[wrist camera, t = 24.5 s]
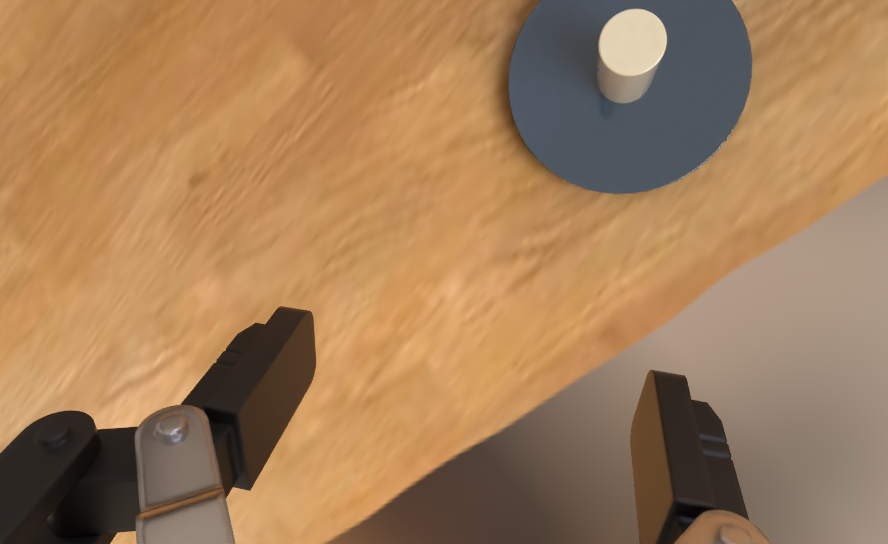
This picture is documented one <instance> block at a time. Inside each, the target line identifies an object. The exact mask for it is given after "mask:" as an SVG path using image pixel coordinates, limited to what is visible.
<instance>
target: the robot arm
mask: <svg viewBox="0 0 888 544" xmlns="http://www.w3.org/2000/svg"><path fill="white" fill-rule="evenodd" d="M315 368H316V351H315V335H314V320H313V314H312V312H311V311H307V310H301V309H295V308H289V307H283V306H281V307H279V308H278V309H277V310H276V311H275V312H274V314H273V315H272V316H271V318H270V319H269V320H268V322H267V323H266V324H260V323H255V324H253V325H252V326H250V327H248V328H247V329H245V330H244V331H242V332H240V333H239V334H237V336H236V337H235V338H234V339H233V341H232V342H231V343H230V344H229V345H228V347H227V348H226V351H224V352H223V353H222V354H221V355H220V357H219V358H218V359H217V362H216V363H214V364H213V365H212V366H211V368H210V369H209V370H208V371H207V373H206V374H205V375H204V376H203V378H202V379H201V380H200V381H199V382H198V384H197V385H196V386H195V387H194V389H193V390H192V391H191V392H190V394H189V395H188V396H187V397H186V398H185V400H184V401H183V402H182V403H181V405H175V406H170V407H166V408H163V409H161V410H158V411H156V412H155V413H153V414H151V415H150V416H148V417H147V418H146V419H145V420H144V421H143V422H142V423H141V424H140V425H139V426H138V427H128V428H114V429H99V430H97V429H96V426H95V423H94V420H93V419H92V417H91V416H89V415H88V414H86V413H84V412H80V411H62V412H57V413H53V414H50V415H47V416H45V417H43V418H40V419H38V420H37V421H35V422H33V423H32V424H30V425H29V426H28V427H26V428H25V429H24V430H23V431H22V432H21V433H20V434H19V435H18V436H17V437H16V438H15V439H14V440H13V441H12V442H11V443H10V444H9V445H8V446H7V447H6V448H5V449H4V450H3V451H2V452H1V453H0V544H110V543H111V541H112V540H113V538H114V537H115V535H116V534H117V532H128V531H136V538H137V544H235V540H234V535H233V530H232V526H231V521H230V516H229V512H228V507H227V502H226V497H227V496H228V494H229V493H230V491H231V489H232V488H233V487H235V488H240V489H245V490H249V491H250V490H251V488H252V486H253V485H254V483H255V481H256V479H257V478H258V476H259V474H260V472H261V471H262V469H263V467H264V465H265V464H266V462H267V460H268V458H269V457H270V455H271V453H272V451H273V450H274V448H275V446H276V444H277V443H278V441H279V439H280V437H281V436H282V434H283V432H284V430H285V429H286V427H287V425H288V423H289V422H290V420H291V418H292V416H293V415H294V413H295V411H296V409H297V407H298V406H299V404H300V402H301V400H302V399H303V397H304V395H305V393H306V392H307V390H308V388H309V386H310V384H311V382H312V380H313V377H314V373H315ZM630 442H631V456H632V465H633V476H634V487H635V496H636V497H635V498H636V508H637V518H638V529H639V540H640V544H771V543H770V541H769V540H768V538H767V537H766V536H765V534H764V533H763V532H762V531H761V530H760V529H759V528H758V527H757V526H756V525H754V524H753V523H751V522H750V521H749V518H748V514H747V511H746V507H745V504H744V500H743V496H742V493H741V489H740V486H739V482H738V479H737V475H736V471H735V468H734V464H733V461H732V460H731V453H730V450H729V446H728V444H727V443H726V442H727V439H726V436H725V432H724V428H723V425H722V422H721V420H720V419H719V417H718V416H717V415H716V414H715V412H714V411H713V410H712V408H711V407H710V406H709V405H708V403H706V402H700V401H695V400H691V396H690V391H689V387H688V383H687V379H686V377H685V376H684V375H678V374H672V373H667V372H660V371H655V370H650V371H649V373H648V375H647V378H646V381H645V384H644V387H643V390H642V393H641V396H640V399H639V402H638V405H637V409H636V412H635V415H634V418H633V422H632V429H631V441H630Z"/></svg>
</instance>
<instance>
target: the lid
mask: <svg viewBox="0 0 888 544" xmlns="http://www.w3.org/2000/svg"><path fill="white" fill-rule="evenodd" d="M751 77H752V55H751V46H750V41H749V37H748V33H747V30H746V27H745V24H744V22H743V20H742V17H741V15H740V13H739V11H738V10H737V8H736V7H735V5H734V3H733V2H732V0H541V1H540V2H539V3H538V4H537V5H536V7H535V8H534V9H533V11H532V12H531V14H530V15H529V17H528V18H527V20H526V21H525V23H524V25H523V27H522V29H521V31H520V33H519V35H518V38H517V40H516V43H515V45H514V49H513V52H512V56H511V60H510V67H509V75H508V94H509V101H510V108H511V111H512V115H513V119H514V122H515V124H516V127H517V129H518V131H519V134H520V136H521V137H522V139H523V141H524V142H525V144H526V146H527V147H528V148H529V150H530V151H531V152H532V154H533V155H534V156H535V157H536V159H537V160H538V161H539V162H540V163H541V164H543V165H544V166H545V167H546V168H547V169H548V170H549V171H551V172H552V173H553V174H555V175H556V176H557V177H559V178H561V179H563V180H564V181H566V182H568V183H570V184H572V185H575V186H577V187H580V188H582V189H585V190H589V191H593V192H598V193H605V194H614V195H619V194H635V193H642V192H647V191H651V190H655V189H658V188H662V187H664V186H666V185H669V184H671V183H674V182H676V181H678V180H680V179H681V178H683V177H685V176H687V175H688V174H690V173H692V172H693V171H695V170H696V169H697V168H699V167H700V166H701V165H703V164H704V163H705V162H706V161H707V160H709V159H710V158H711V157H712V156H713V155H714V154H715V153H716V152H717V151H718V150H719V148H720V147H721V146H722V145H723V144H724V142H725V141H726V140H727V139H728V137H729V136H730V134H731V133H732V131H733V129H734V128H735V126H736V125H737V123H738V120H739V118H740V116H741V114H742V112H743V110H744V107H745V104H746V100H747V97H748V94H749V89H750V83H751Z"/></svg>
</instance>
